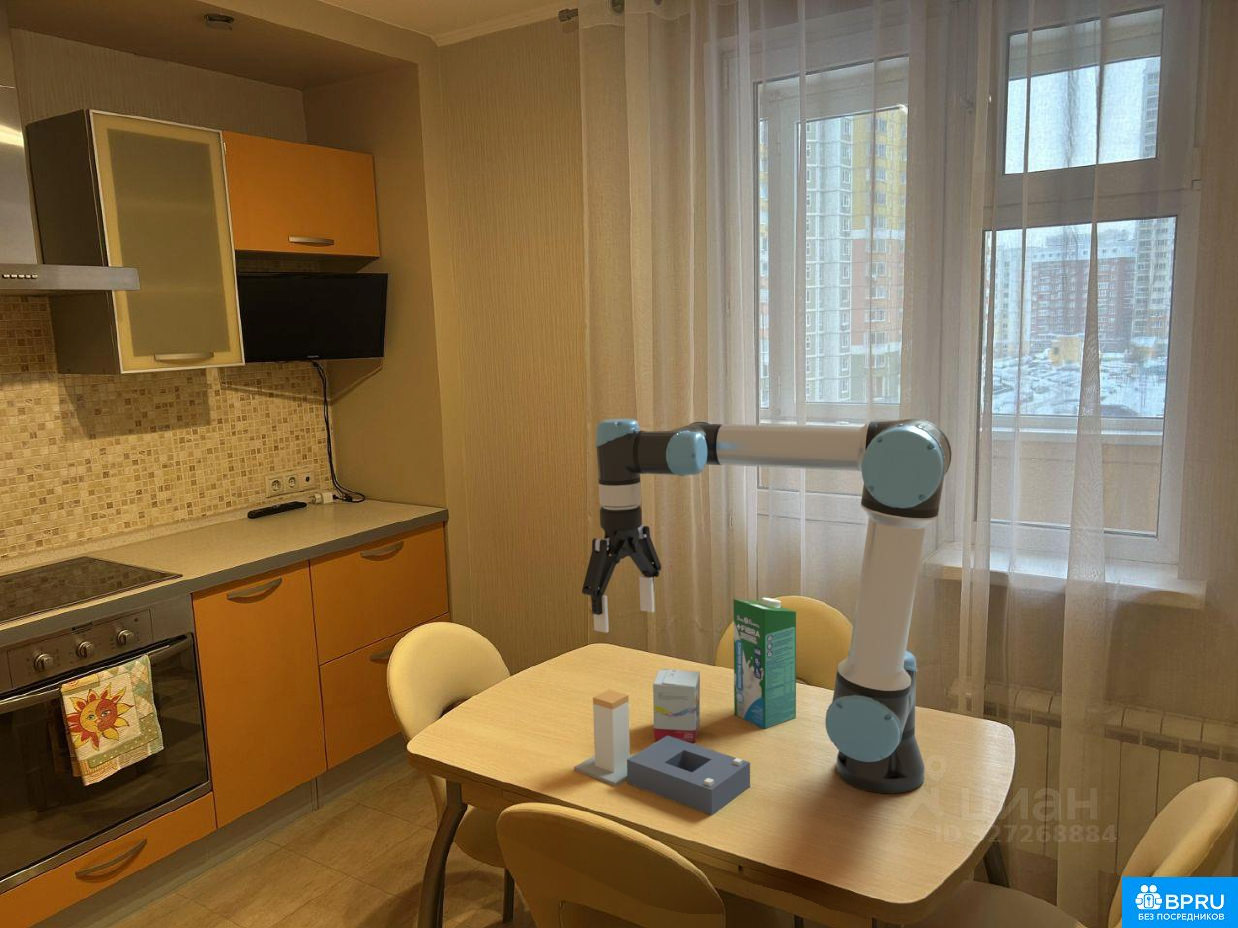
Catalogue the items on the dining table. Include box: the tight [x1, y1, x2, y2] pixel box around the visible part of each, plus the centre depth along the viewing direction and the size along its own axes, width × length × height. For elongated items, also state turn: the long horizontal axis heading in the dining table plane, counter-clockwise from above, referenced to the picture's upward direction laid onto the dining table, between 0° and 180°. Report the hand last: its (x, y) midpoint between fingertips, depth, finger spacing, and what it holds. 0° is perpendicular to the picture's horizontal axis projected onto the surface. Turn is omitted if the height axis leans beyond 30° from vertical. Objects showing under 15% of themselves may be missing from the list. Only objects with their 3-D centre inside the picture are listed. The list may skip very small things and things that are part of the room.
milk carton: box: [733, 597, 797, 730], centre depth 187 cm, size 9×9×25 cm
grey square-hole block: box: [626, 736, 751, 816], centre depth 161 cm, size 18×12×5 cm, turn 50°
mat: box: [573, 754, 634, 787], centre depth 169 cm, size 10×10×1 cm
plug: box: [592, 689, 631, 773], centre depth 168 cm, size 5×5×13 cm
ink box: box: [652, 668, 701, 744], centre depth 182 cm, size 9×9×12 cm
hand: (625, 620), depth 166 cm, fingers open, 13 cm apart
